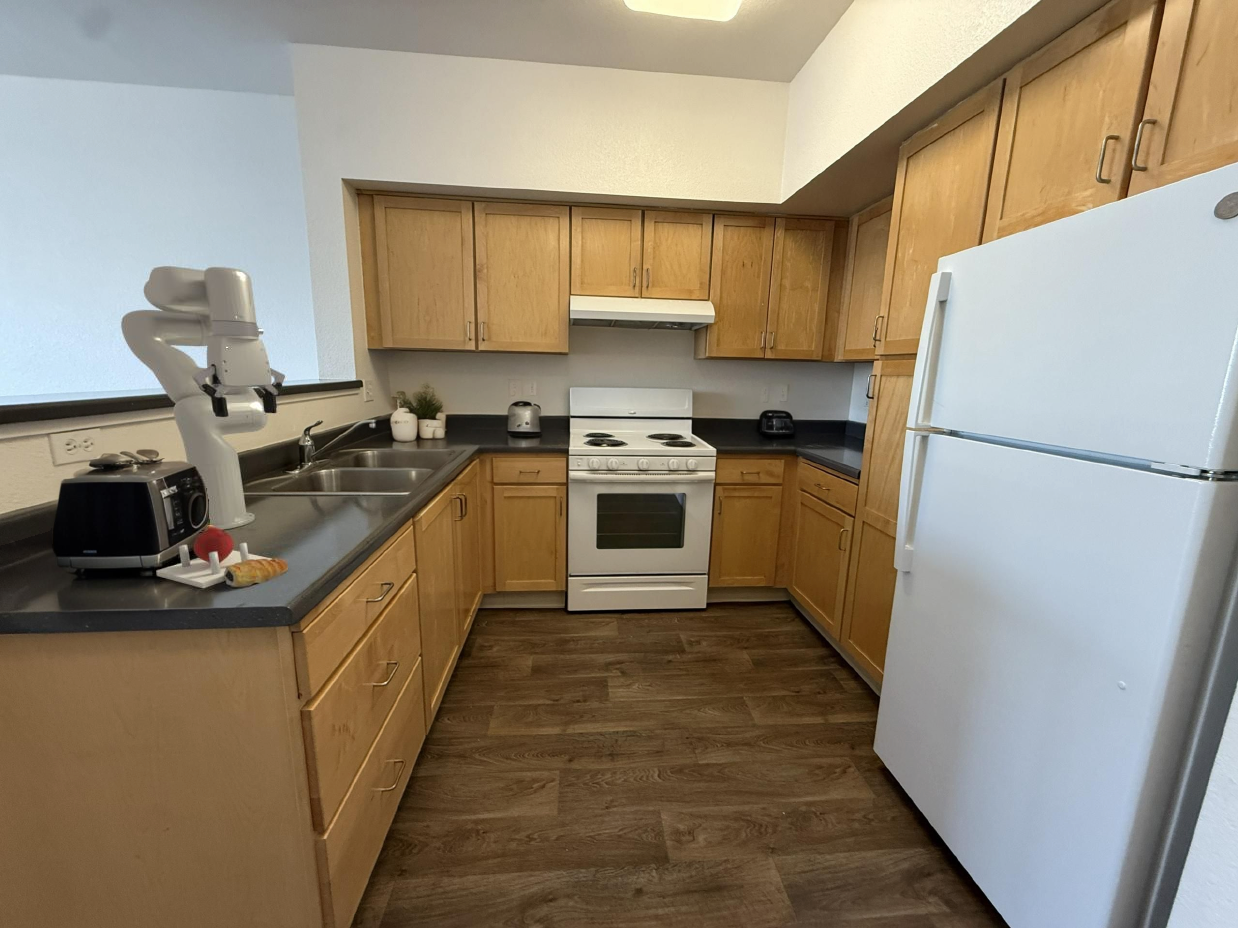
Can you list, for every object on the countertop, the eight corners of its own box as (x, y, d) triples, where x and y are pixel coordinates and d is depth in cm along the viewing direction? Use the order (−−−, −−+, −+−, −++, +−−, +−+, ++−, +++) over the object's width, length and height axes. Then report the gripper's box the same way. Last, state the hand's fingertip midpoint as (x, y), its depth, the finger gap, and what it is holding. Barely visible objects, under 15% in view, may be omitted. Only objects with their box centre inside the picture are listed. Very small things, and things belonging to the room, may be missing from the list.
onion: (231, 556, 97) (225, 517, 95) (239, 563, 93) (233, 523, 92) (194, 564, 93) (187, 524, 91) (200, 572, 89) (193, 531, 87)
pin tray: (157, 575, 90) (152, 550, 89) (228, 553, 101) (224, 530, 100) (203, 588, 85) (198, 561, 84) (273, 563, 96) (269, 539, 95)
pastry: (279, 565, 95) (276, 547, 95) (295, 573, 92) (293, 555, 91) (221, 583, 88) (217, 563, 87) (236, 592, 84) (233, 572, 83)
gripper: (266, 335, 109) (276, 411, 113) (174, 329, 94) (188, 417, 97) (289, 334, 107) (298, 412, 110) (197, 328, 91) (212, 419, 94)
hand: (247, 414), depth 103 cm, fingers open, 9 cm apart
